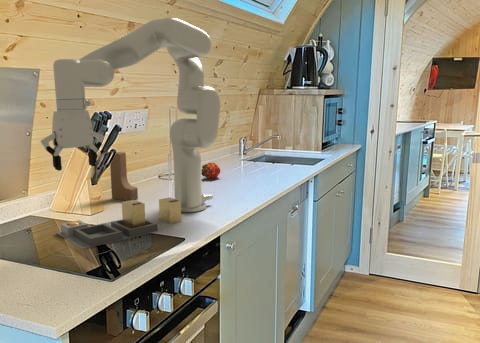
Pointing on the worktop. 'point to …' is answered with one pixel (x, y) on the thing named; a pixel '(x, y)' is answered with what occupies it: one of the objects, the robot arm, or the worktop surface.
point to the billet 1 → (133, 213)
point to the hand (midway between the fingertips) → (75, 167)
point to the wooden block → (121, 179)
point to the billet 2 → (170, 210)
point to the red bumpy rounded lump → (210, 170)
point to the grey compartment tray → (103, 232)
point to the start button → (73, 223)
